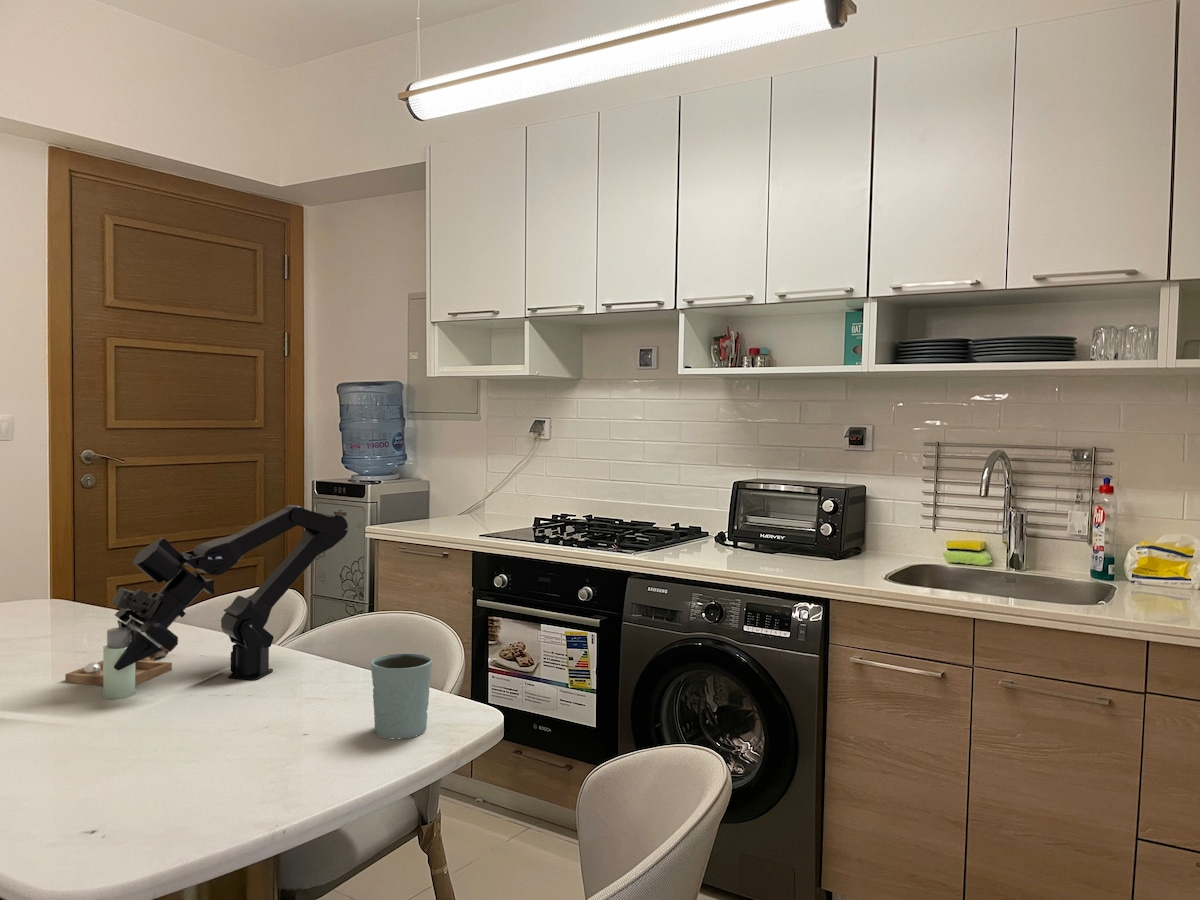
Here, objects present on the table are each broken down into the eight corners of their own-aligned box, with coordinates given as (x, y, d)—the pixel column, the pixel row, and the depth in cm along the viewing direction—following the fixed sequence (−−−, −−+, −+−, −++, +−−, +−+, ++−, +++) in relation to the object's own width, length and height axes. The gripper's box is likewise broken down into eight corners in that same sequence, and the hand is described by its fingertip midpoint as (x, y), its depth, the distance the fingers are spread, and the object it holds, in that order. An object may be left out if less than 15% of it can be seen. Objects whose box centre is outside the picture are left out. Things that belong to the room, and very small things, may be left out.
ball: (105, 676, 176) (105, 661, 176) (93, 680, 173) (93, 665, 173) (91, 675, 176) (91, 660, 176) (80, 679, 173) (80, 664, 173)
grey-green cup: (370, 742, 146) (371, 670, 146) (369, 722, 156) (370, 653, 156) (433, 738, 149) (434, 666, 149) (428, 717, 159) (429, 650, 158)
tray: (171, 674, 181) (171, 662, 181) (130, 692, 169) (130, 679, 169) (110, 669, 184) (110, 657, 183) (65, 687, 172) (65, 674, 172)
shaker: (141, 696, 167) (141, 627, 167) (121, 705, 162) (121, 634, 161) (117, 694, 168) (117, 625, 168) (96, 703, 163) (96, 632, 162)
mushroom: (154, 655, 183) (152, 627, 186) (118, 669, 183) (117, 641, 186) (178, 664, 190) (176, 637, 193) (143, 678, 190) (142, 650, 193)
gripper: (126, 564, 174) (62, 629, 166) (159, 578, 160) (90, 650, 153) (169, 599, 179) (108, 664, 172) (204, 616, 166) (140, 687, 159)
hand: (111, 665), depth 164 cm, fingers closed on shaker, 5 cm apart
